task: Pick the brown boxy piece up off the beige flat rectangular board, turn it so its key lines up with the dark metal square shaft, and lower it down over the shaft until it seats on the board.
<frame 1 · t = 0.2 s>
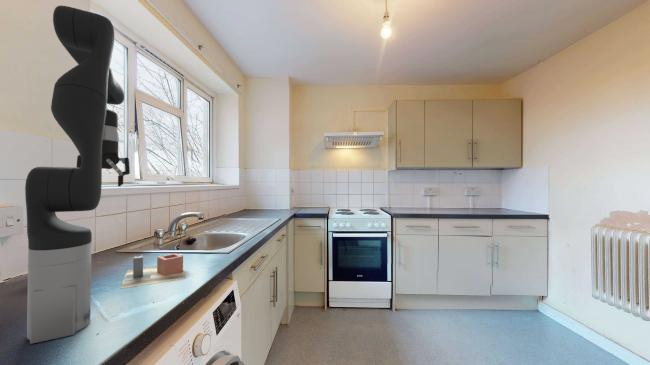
hand: (104, 186, 93), 29 cm above the counter, fingers open, 8 cm apart
d shaft post: (138, 280, 82), resting on beige flat rectangular board
brown boxy piece: (170, 271, 86), point 1 cm above the counter, touching beige flat rectangular board
beige flat rectangular board: (155, 277, 84), on the counter
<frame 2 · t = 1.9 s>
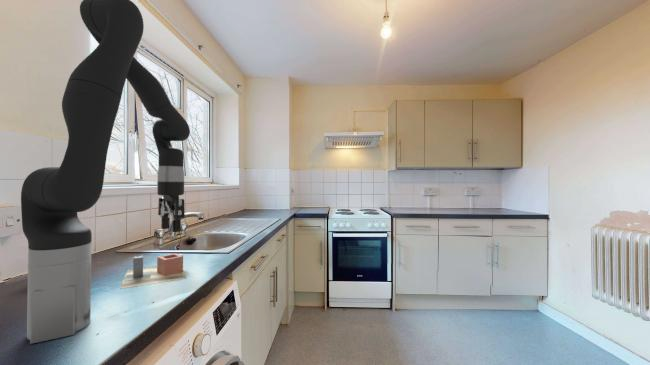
hand: (170, 230, 86), 15 cm above the counter, fingers open, 8 cm apart
nothing on the counter moved.
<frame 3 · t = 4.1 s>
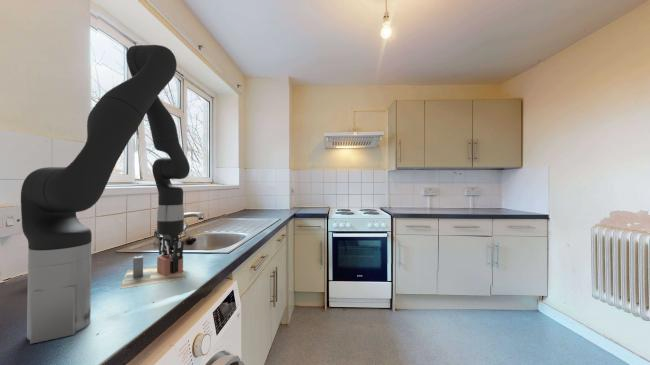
hand: (170, 270, 86), 2 cm above the counter, fingers closed on brown boxy piece, 5 cm apart
brown boxy piece: (170, 271, 86), point 1 cm above the counter, touching gripper, beige flat rectangular board
everything else where it was.
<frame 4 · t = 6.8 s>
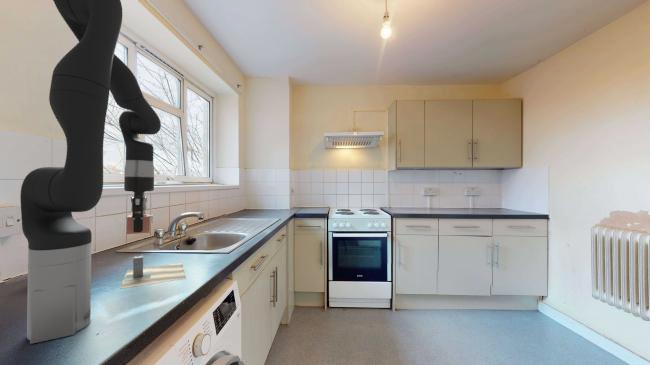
hand: (138, 230, 82), 15 cm above the counter, fingers closed on brown boxy piece, 5 cm apart
brown boxy piece: (138, 231, 82), point 15 cm above the counter, touching gripper
everything else where it was.
when the fingers open (2 cm above the counter, at t = 10.0 s): brown boxy piece stays where it is, resting on beige flat rectangular board.
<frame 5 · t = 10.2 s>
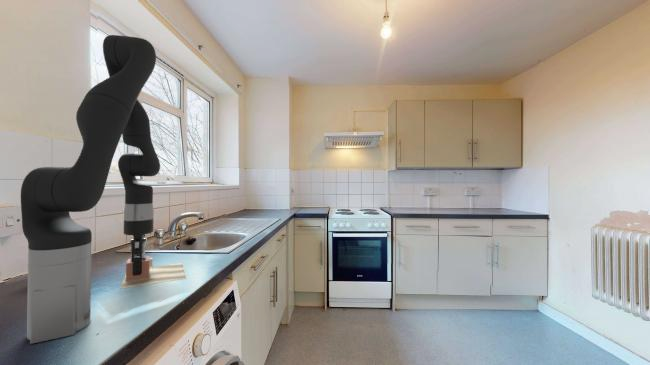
hand: (138, 271, 82), 3 cm above the counter, fingers open, 7 cm apart
brown boxy piece: (138, 276, 82), point 1 cm above the counter, touching beige flat rectangular board
everything else where it was.
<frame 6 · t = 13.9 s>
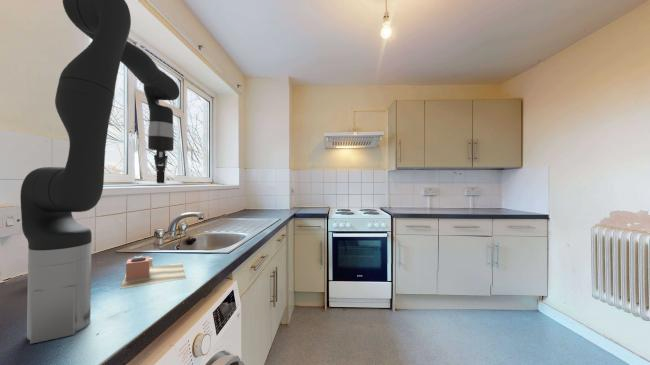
hand: (160, 183, 93), 30 cm above the counter, fingers open, 8 cm apart
nothing on the counter moved.
at the end: brown boxy piece 0.0 cm off-centre on the d shaft post, point 1.3 cm above the d shaft post's base; brown boxy piece tilted 0°; the gripper is holding nothing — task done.
